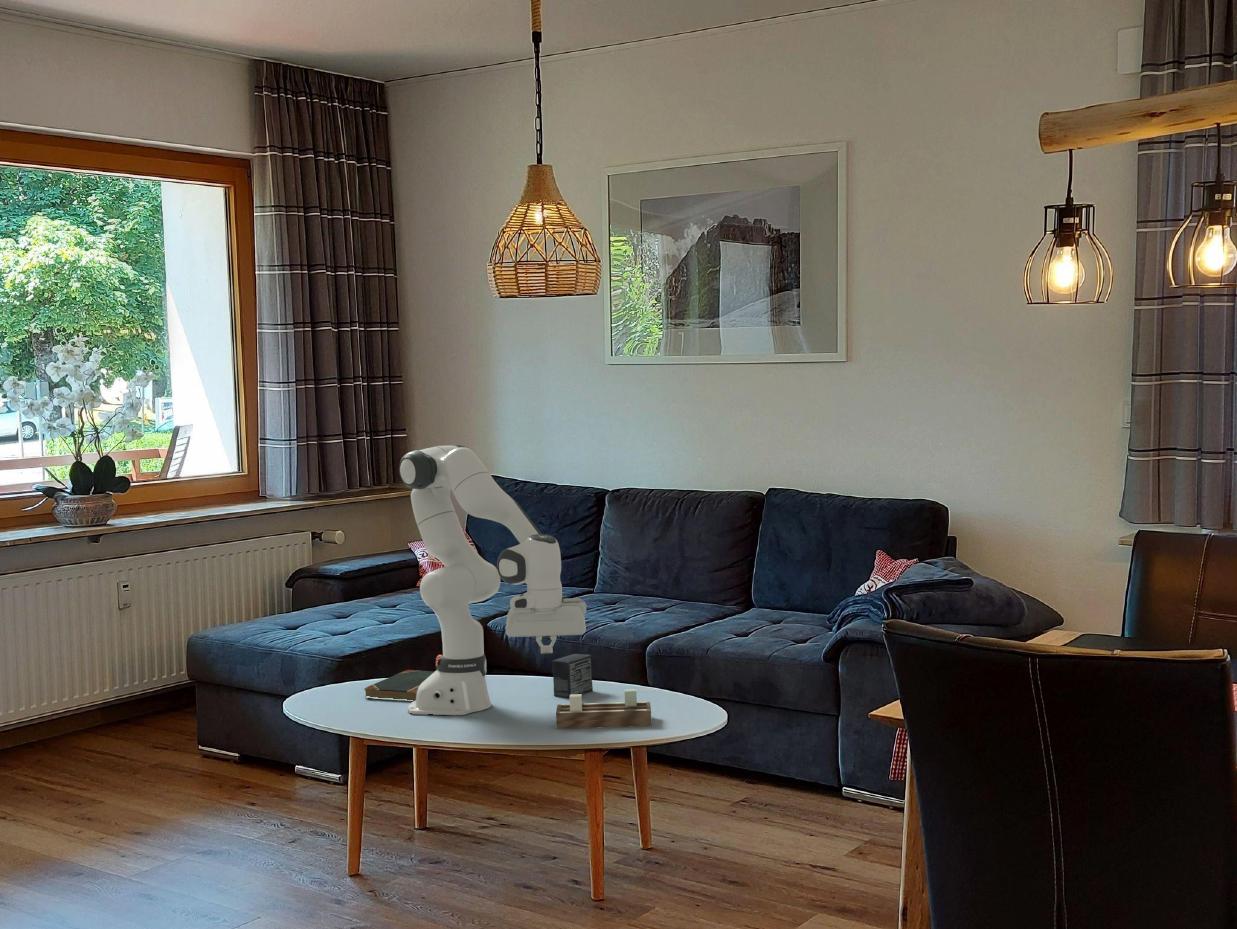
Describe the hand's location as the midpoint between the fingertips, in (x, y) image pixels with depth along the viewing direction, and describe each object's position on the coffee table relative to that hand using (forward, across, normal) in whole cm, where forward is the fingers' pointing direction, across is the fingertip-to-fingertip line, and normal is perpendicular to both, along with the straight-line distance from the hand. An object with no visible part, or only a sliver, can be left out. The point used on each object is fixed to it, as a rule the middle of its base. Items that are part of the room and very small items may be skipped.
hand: (546, 653), depth 321 cm
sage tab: (+17, -21, -4) cm, 27 cm away
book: (+19, +42, -45) cm, 65 cm away
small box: (+19, -5, -35) cm, 40 cm away
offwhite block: (+17, -7, 0) cm, 18 cm away
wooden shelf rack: (+19, -14, -2) cm, 24 cm away
